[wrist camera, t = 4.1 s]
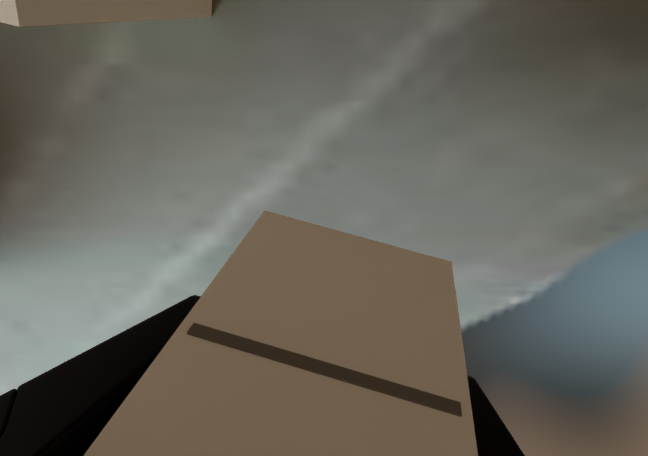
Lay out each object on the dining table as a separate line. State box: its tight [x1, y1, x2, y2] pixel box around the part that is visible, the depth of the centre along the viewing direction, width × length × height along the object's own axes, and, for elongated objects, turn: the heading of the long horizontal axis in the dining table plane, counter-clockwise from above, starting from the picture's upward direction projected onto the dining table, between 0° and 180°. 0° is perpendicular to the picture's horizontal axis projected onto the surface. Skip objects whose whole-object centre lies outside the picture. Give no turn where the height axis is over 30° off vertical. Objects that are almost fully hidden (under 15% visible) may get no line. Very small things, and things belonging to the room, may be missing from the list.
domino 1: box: [84, 211, 478, 456], centre depth 7 cm, size 2×5×9 cm, turn 79°
